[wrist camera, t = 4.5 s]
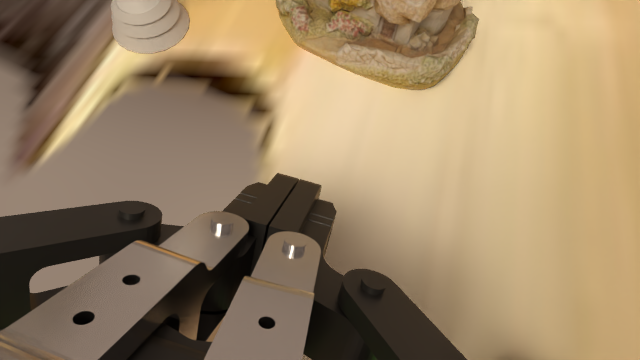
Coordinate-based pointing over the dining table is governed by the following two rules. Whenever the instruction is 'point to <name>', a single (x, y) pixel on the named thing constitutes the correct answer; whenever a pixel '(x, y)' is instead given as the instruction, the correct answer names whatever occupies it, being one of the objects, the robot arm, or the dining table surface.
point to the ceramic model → (383, 36)
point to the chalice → (148, 24)
